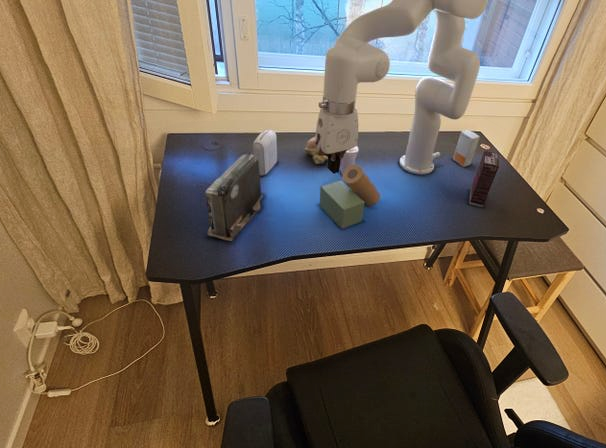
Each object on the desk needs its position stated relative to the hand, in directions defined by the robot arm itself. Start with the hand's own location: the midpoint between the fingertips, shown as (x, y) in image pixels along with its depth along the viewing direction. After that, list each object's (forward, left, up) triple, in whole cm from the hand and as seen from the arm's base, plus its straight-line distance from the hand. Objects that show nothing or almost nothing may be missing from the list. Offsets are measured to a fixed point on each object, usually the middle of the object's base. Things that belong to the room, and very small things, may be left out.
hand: (333, 170), depth 104 cm
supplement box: (-48, +15, -16) cm, 53 cm away
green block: (-4, 0, -16) cm, 16 cm away
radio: (+22, -13, -16) cm, 30 cm away
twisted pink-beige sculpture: (-13, -29, -16) cm, 36 cm away
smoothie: (-17, -17, -16) cm, 29 cm away
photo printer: (+5, -31, -16) cm, 35 cm away
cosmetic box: (-61, -4, -16) cm, 64 cm away
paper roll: (-11, 0, -16) cm, 19 cm away
